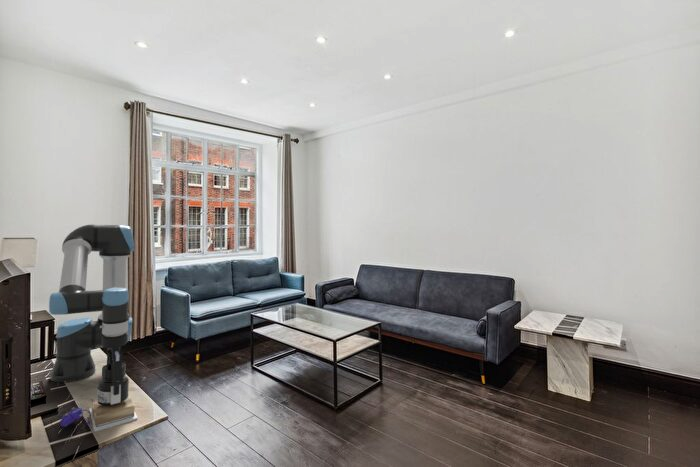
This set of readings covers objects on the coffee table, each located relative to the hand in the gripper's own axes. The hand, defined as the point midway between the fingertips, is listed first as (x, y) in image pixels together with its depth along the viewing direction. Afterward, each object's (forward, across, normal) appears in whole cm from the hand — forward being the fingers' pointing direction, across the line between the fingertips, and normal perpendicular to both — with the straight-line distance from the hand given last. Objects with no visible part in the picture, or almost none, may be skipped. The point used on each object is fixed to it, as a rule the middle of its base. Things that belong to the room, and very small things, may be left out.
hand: (113, 397), depth 122 cm
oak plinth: (+6, 0, 0) cm, 6 cm away
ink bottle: (+1, 0, 0) cm, 1 cm away
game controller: (+7, 0, -10) cm, 12 cm away
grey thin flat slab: (+6, 0, 0) cm, 6 cm away
